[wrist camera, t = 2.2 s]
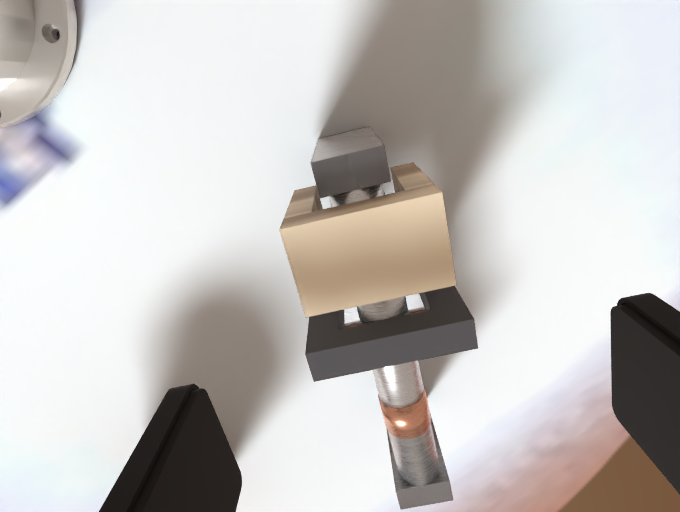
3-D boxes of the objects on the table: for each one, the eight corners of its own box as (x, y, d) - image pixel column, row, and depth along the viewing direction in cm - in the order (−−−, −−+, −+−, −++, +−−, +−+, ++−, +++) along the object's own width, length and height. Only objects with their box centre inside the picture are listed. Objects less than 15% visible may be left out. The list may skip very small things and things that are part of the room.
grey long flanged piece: (259, 153, 25) (227, 183, 18) (429, 111, 25) (472, 123, 17) (339, 418, 33) (340, 521, 25) (472, 392, 32) (516, 489, 24)
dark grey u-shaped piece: (314, 271, 27) (305, 354, 19) (430, 245, 27) (473, 318, 19) (320, 292, 28) (313, 381, 20) (434, 267, 27) (478, 348, 19)
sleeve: (294, 190, 23) (279, 229, 17) (413, 162, 23) (442, 191, 16) (313, 258, 25) (305, 317, 18) (425, 233, 24) (456, 285, 18)
